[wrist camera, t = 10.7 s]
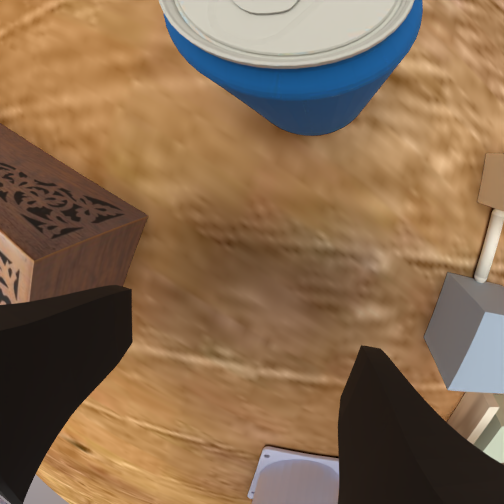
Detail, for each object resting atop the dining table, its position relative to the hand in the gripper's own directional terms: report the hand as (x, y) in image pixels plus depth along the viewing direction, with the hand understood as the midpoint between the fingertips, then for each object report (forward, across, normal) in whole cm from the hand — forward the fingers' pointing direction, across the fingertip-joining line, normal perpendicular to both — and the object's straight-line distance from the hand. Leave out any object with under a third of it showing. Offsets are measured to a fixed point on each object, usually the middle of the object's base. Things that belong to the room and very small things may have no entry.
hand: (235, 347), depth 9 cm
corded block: (+10, -12, -3) cm, 16 cm away
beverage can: (+10, 0, -10) cm, 14 cm away
